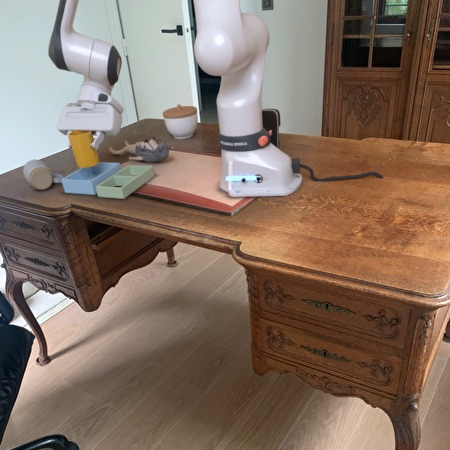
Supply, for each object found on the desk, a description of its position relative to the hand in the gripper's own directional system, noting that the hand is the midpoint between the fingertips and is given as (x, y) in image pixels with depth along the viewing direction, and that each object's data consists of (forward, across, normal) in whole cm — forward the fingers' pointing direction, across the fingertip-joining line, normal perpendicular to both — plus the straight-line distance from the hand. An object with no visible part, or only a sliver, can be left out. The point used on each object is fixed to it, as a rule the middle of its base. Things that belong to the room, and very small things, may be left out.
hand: (82, 148), depth 126 cm
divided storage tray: (+7, +12, +8) cm, 16 cm away
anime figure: (-8, +4, +24) cm, 26 cm away
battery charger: (-20, +44, +35) cm, 60 cm away
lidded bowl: (-26, +7, +42) cm, 50 cm away
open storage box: (+7, 0, +8) cm, 11 cm away
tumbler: (+3, 0, +4) cm, 5 cm away
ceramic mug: (+10, -16, +6) cm, 19 cm away
